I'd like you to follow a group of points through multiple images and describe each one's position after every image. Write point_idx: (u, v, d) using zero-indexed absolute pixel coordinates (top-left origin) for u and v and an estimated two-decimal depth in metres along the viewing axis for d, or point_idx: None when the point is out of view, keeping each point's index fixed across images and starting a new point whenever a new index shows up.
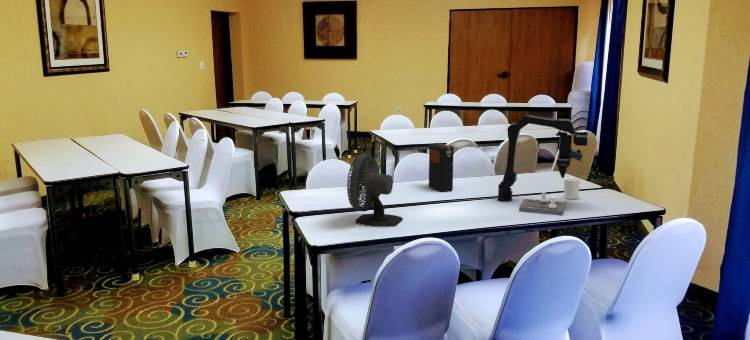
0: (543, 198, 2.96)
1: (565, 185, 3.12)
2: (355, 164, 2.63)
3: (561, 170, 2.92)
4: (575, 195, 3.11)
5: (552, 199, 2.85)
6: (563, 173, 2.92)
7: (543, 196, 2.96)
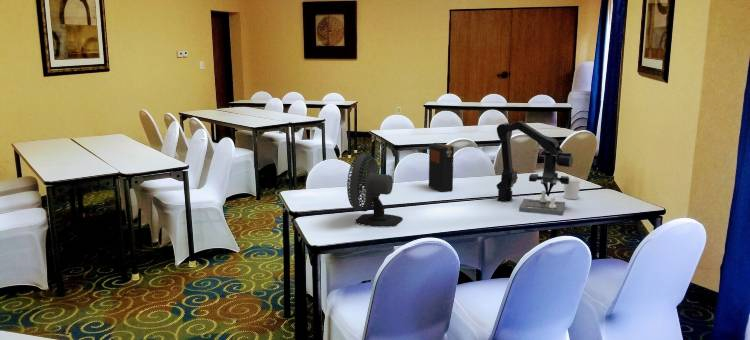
0: (543, 198, 2.96)
1: (565, 185, 3.12)
2: (355, 164, 2.63)
3: None
4: (575, 195, 3.11)
5: (552, 199, 2.85)
6: (546, 191, 2.96)
7: (543, 196, 2.96)
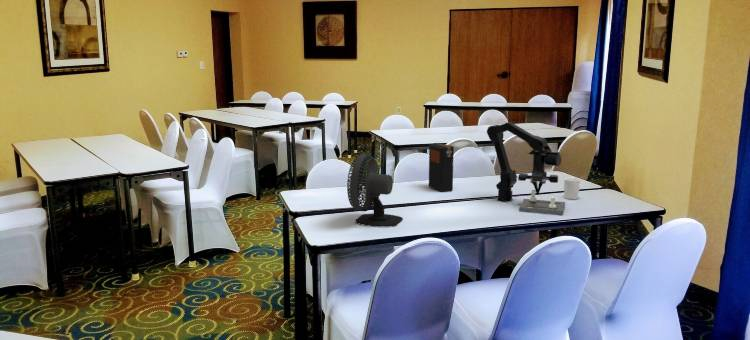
0: (532, 197, 2.98)
1: (565, 185, 3.12)
2: (355, 164, 2.63)
3: None
4: (575, 195, 3.11)
5: (552, 199, 2.85)
6: None
7: (532, 195, 2.98)
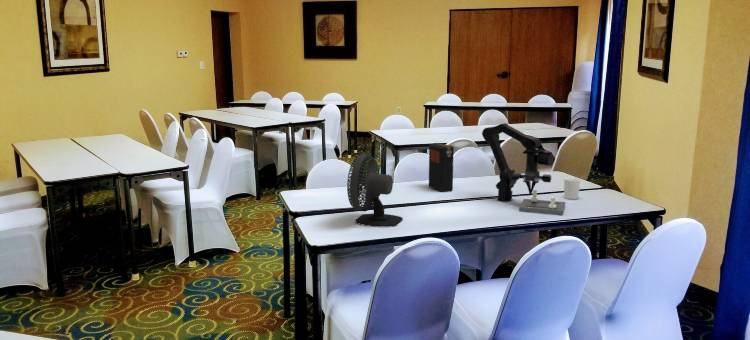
0: (534, 197, 2.98)
1: (565, 185, 3.12)
2: (355, 164, 2.63)
3: None
4: (575, 195, 3.11)
5: (552, 199, 2.85)
6: None
7: (534, 195, 2.97)
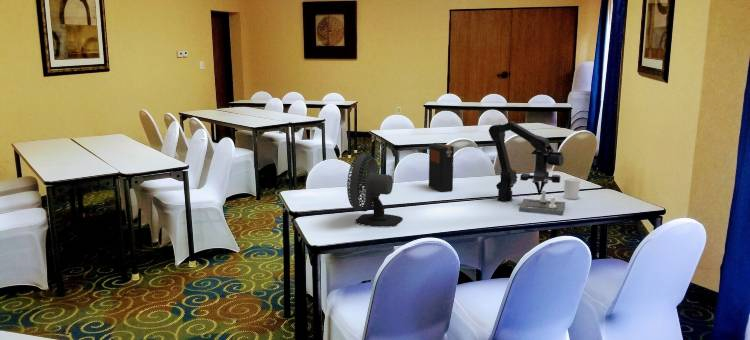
0: (543, 198, 2.96)
1: (565, 185, 3.12)
2: (355, 164, 2.63)
3: None
4: (575, 195, 3.11)
5: (552, 199, 2.85)
6: None
7: (543, 196, 2.96)
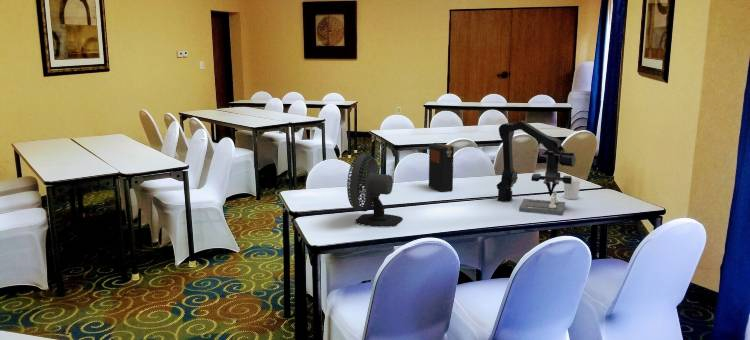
0: None
1: (565, 185, 3.12)
2: (355, 164, 2.63)
3: None
4: (575, 195, 3.11)
5: (552, 199, 2.85)
6: (548, 190, 2.96)
7: None
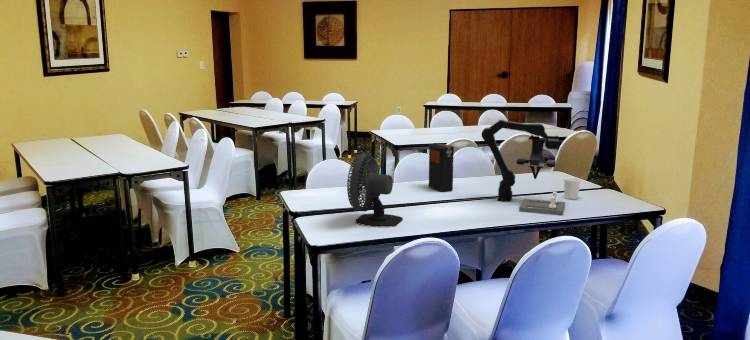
0: None
1: (565, 185, 3.12)
2: (355, 164, 2.63)
3: None
4: (575, 195, 3.11)
5: (552, 199, 2.85)
6: None
7: None
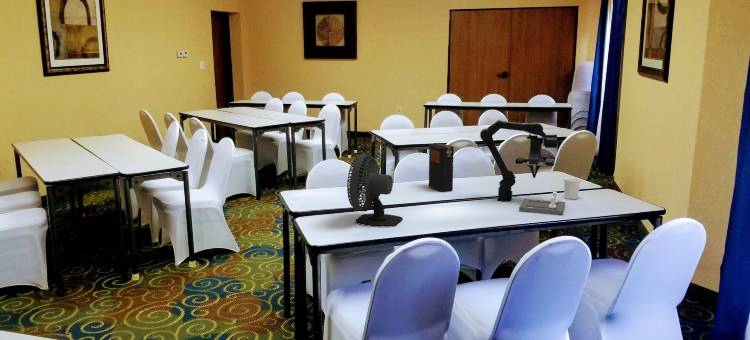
0: None
1: (565, 185, 3.12)
2: (355, 164, 2.63)
3: None
4: (575, 195, 3.11)
5: (552, 199, 2.85)
6: (532, 173, 3.06)
7: None
